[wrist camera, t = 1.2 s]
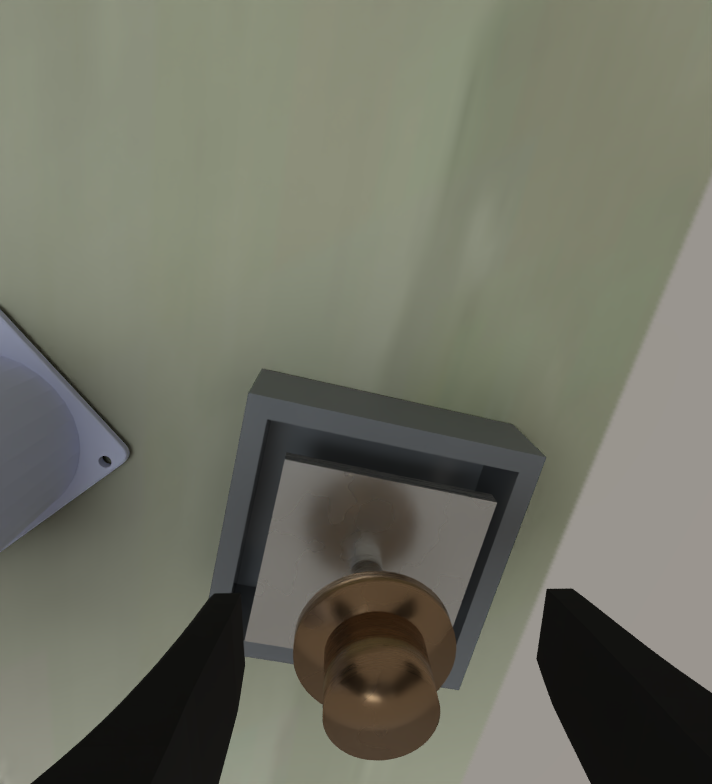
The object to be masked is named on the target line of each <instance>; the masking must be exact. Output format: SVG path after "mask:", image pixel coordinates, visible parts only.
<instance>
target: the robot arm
mask: <svg viewBox="0 0 712 784" xmlns="http://www.w3.org/2000/svg"><path fill="white" fill-rule="evenodd" d="M129 454H130V452H129V448H128V447H127V445H126V444H125V443H124V442H123V441H122V440H121V439H120V438H119V437H118V436H117V434H116V433H115V432H114V431H113V430H112V429H111V428H110V427H109V426H108V425H107V424H106V423H105V422H104V420H103V419H102V418H101V417H100V416H99V415H98V414H97V413H96V412H95V411H94V410H93V409H92V408H91V406H90V405H89V404H88V403H87V402H86V401H85V400H84V399H83V398H82V397H81V396H80V395H79V394H78V392H77V391H76V390H75V389H74V388H73V387H72V386H71V385H70V384H69V383H68V382H67V381H66V380H65V378H64V377H63V376H62V375H61V374H60V373H59V372H58V371H57V370H56V369H55V368H54V367H53V366H52V364H51V363H50V362H49V361H48V360H47V359H46V358H45V357H44V356H43V355H42V354H41V353H40V352H39V350H38V349H37V348H36V347H35V346H34V345H33V344H32V343H31V342H30V341H29V340H28V339H27V338H26V336H25V335H24V334H23V333H22V332H21V331H20V330H19V329H18V328H17V327H16V326H15V325H14V324H13V322H12V321H11V320H10V319H9V318H8V317H7V316H6V315H5V314H4V313H3V312H2V311H1V310H0V552H1V551H3V550H4V549H5V548H7V547H8V546H10V545H11V544H12V543H14V542H15V541H17V540H18V539H19V538H21V537H22V536H23V535H25V534H26V533H28V532H29V531H30V530H32V529H33V528H35V527H36V526H37V525H39V524H40V523H41V522H43V521H44V520H46V519H47V518H48V517H50V516H51V515H53V514H54V513H55V512H57V511H58V510H59V509H61V508H62V507H64V506H65V505H66V504H68V503H69V502H71V501H72V500H73V499H75V498H76V497H77V496H79V495H80V494H82V493H83V492H84V491H86V490H87V489H89V488H90V487H91V486H93V485H94V484H95V483H97V482H98V481H100V480H101V479H102V478H104V477H105V476H107V475H108V474H109V473H111V472H112V471H113V470H115V469H116V468H118V467H119V466H120V465H122V464H123V463H124V462H125V461H126V460H127V459H128V458H129ZM103 456H107V457H109V458H110V459H111V464H109V463H106V462H104V460H103ZM537 661H538V665H539V668H540V671H541V674H542V677H543V680H544V682H545V685H546V688H547V691H548V694H549V696H550V699H551V702H552V704H553V706H554V709H555V711H556V713H557V715H558V717H559V719H560V721H561V723H562V725H563V727H564V729H565V732H566V734H567V736H568V738H569V740H570V742H571V744H572V746H573V748H574V750H575V752H576V754H577V756H578V758H579V760H580V762H581V765H582V766H583V769H584V771H585V773H586V775H587V777H588V779H589V781H590V783H591V784H712V693H711V692H710V691H708V690H706V689H705V688H704V687H702V686H701V685H699V684H698V683H697V682H695V681H694V680H692V679H691V678H689V677H688V676H687V675H685V674H684V673H682V672H681V671H679V670H678V669H677V668H675V667H674V666H673V665H671V664H670V663H668V662H667V661H666V660H664V659H663V658H662V657H660V656H659V655H658V654H656V653H655V652H654V651H652V650H651V649H650V648H648V647H647V646H646V645H644V644H643V643H642V642H640V641H639V640H638V639H636V638H635V637H634V636H633V635H631V634H630V633H629V632H627V631H626V630H625V629H624V628H622V627H621V626H620V625H619V624H617V623H616V622H615V621H614V620H612V619H611V618H610V617H608V616H607V615H606V614H605V613H603V612H602V611H601V610H599V609H598V608H597V607H596V606H594V605H593V604H592V603H590V602H589V601H588V600H587V599H585V598H584V597H583V596H582V595H580V594H579V593H577V592H576V591H575V590H573V589H547V591H546V597H545V604H544V611H543V618H542V625H541V632H540V639H539V645H538V652H537ZM244 668H245V656H244V639H243V621H242V604H241V593H214V594H213V595H212V596H211V597H210V598H209V599H208V601H207V602H206V603H205V605H204V606H203V607H202V609H201V610H200V611H199V612H198V614H197V615H196V616H195V618H194V619H193V620H192V622H191V623H190V624H189V625H188V627H187V628H186V629H185V630H184V632H183V633H182V634H181V635H180V637H179V638H178V639H177V640H176V642H175V643H174V644H173V645H172V646H171V647H170V649H169V650H168V651H167V652H166V653H165V655H164V656H163V657H162V658H161V659H160V661H159V662H158V663H157V664H156V665H155V666H154V667H153V669H152V670H151V671H150V672H149V673H148V674H147V675H146V676H145V677H144V678H143V679H142V681H141V682H140V683H139V684H138V685H137V686H136V687H135V688H134V689H133V690H132V691H131V692H130V693H129V695H128V696H127V697H126V698H125V699H124V700H123V701H122V702H121V703H120V704H119V705H118V706H117V707H116V708H115V709H114V710H113V711H112V712H111V713H110V714H109V715H108V716H107V717H106V718H105V719H104V720H103V721H102V722H101V723H100V724H99V725H97V726H96V727H95V728H94V729H93V730H92V731H91V732H90V733H89V734H88V735H87V736H86V737H85V738H84V739H82V740H81V741H80V742H79V743H78V744H77V745H76V746H75V747H73V748H72V749H71V750H70V751H69V752H68V753H67V754H65V755H64V756H63V757H62V758H61V759H60V760H58V761H57V762H56V763H55V764H54V765H53V766H51V767H50V768H49V769H48V770H47V771H45V772H44V773H43V774H42V775H41V776H39V777H38V778H37V779H36V780H35V781H33V782H32V783H31V784H219V780H220V776H221V773H222V769H223V765H224V761H225V758H226V754H227V750H228V746H229V743H230V739H231V735H232V731H233V727H234V724H235V720H236V716H237V712H238V706H239V700H240V694H241V688H242V681H243V675H244Z"/></svg>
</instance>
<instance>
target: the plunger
mask: <svg viewBox="0 0 712 784" xmlns="http://www.w3.org/2000/svg"><path fill="white" fill-rule="evenodd" d="M496 504H497V502H496V500H495V498H494V497H493V495H492V494H487V493H483V492H478V491H473V490H468V489H463V488H458V487H453V486H448V485H444V484H439V483H434V482H429V481H424V480H419V479H414V478H409V477H404V476H400V475H395V474H390V473H385V472H380V471H375V470H370V469H365V468H361V467H356V466H351V465H346V464H341V463H336V462H331V461H326V460H322V459H317V458H312V457H307V456H302V455H297V454H292V453H287V452H286V456H285V461H284V465H283V470H282V474H281V479H280V483H279V488H278V492H277V497H276V501H275V506H274V510H273V515H272V519H271V524H270V528H269V533H268V537H267V542H266V546H265V551H264V555H263V560H262V564H261V569H260V573H259V578H258V582H257V587H256V591H255V596H254V600H253V605H252V609H251V614H250V618H249V623H248V627H247V632H246V636H245V641H248V642H254V643H260V644H266V645H273V646H279V647H285V648H291V649H293V662H294V668H295V671H296V674H297V676H298V678H299V680H300V682H301V684H302V685H303V687H304V688H305V689H306V691H307V692H308V693H309V694H310V695H311V696H312V697H313V698H314V699H316V700H317V701H318V702H319V703H321V704H323V726H324V729H325V732H326V734H327V736H328V737H329V739H330V740H331V741H332V742H333V743H334V744H335V745H336V746H337V747H338V748H339V749H341V750H342V751H344V752H345V753H347V754H349V755H352V756H354V757H358V758H361V759H366V760H389V759H394V758H398V757H401V756H404V755H406V754H409V753H411V752H413V751H414V750H416V749H418V748H419V747H421V746H422V745H423V744H424V743H425V742H426V741H428V739H429V738H430V737H431V736H432V734H433V733H434V731H435V730H436V727H437V725H438V722H439V719H440V705H439V700H438V696H437V692H436V691H438V690H439V688H440V687H441V686H442V685H443V684H444V682H445V681H446V679H447V678H448V676H449V674H450V672H451V670H452V668H453V665H454V661H455V657H456V638H455V633H454V630H453V625H454V622H455V619H456V617H457V614H458V611H459V608H460V605H461V603H462V600H463V597H464V594H465V591H466V589H467V586H468V583H469V580H470V577H471V575H472V572H473V569H474V566H475V563H476V561H477V558H478V555H479V552H480V549H481V547H482V544H483V541H484V538H485V535H486V532H487V530H488V527H489V524H490V521H491V518H492V516H493V513H494V510H495V507H496Z"/></svg>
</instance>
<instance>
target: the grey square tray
mask: <svg viewBox="0 0 712 784" xmlns="http://www.w3.org/2000/svg"><path fill="white" fill-rule="evenodd" d="M286 452H287V453H292V454H297V455H302V456H307V457H312V458H317V459H322V460H326V461H331V462H336V463H341V464H346V465H351V466H356V467H361V468H365V469H370V470H375V471H380V472H385V473H390V474H395V475H400V476H404V477H409V478H414V479H419V480H424V481H429V482H434V483H439V484H444V485H448V486H453V487H458V488H463V489H468V490H473V491H478V492H483V493H487V494H492V495H493V497H494V498H495V500H496V502H497V504H496V507H495V510H494V513H493V516H492V518H491V521H490V524H489V527H488V530H487V532H486V535H485V538H484V541H483V544H482V547H481V549H480V552H479V555H478V558H477V561H476V563H475V566H474V569H473V572H472V575H471V577H470V580H469V583H468V586H467V589H466V591H465V594H464V597H463V600H462V603H461V605H460V608H459V611H458V614H457V617H456V619H455V622H454V625H453V630H454V633H455V638H456V657H455V661H454V665H453V668H452V670H451V672H450V674H449V676H448V678H447V679H446V681H445V682H444V684H443V685H442V686H441V687H442V688H448V689H455V690H459V689H460V686H461V683H462V681H463V678H464V675H465V673H466V670H467V667H468V665H469V662H470V659H471V657H472V654H473V651H474V649H475V646H476V643H477V641H478V638H479V635H480V633H481V630H482V627H483V625H484V622H485V619H486V617H487V614H488V611H489V609H490V606H491V603H492V601H493V598H494V595H495V593H496V590H497V587H498V585H499V582H500V579H501V577H502V574H503V572H504V569H505V566H506V564H507V561H508V558H509V556H510V553H511V550H512V548H513V545H514V542H515V540H516V537H517V534H518V532H519V529H520V526H521V524H522V521H523V518H524V516H525V513H526V510H527V508H528V505H529V502H530V500H531V497H532V494H533V492H534V489H535V486H536V484H537V481H538V478H539V476H540V473H541V470H542V468H543V465H544V462H545V460H546V456H545V455H544V454H543V453H542V452H541V451H539V450H538V449H537V448H536V447H535V446H534V445H533V444H532V443H531V442H530V441H529V440H528V439H527V438H526V437H525V436H524V435H523V434H522V433H521V432H520V431H519V430H518V429H517V428H516V427H515V426H514V425H513V424H509V423H504V422H500V421H495V420H491V419H486V418H482V417H477V416H473V415H468V414H464V413H459V412H455V411H450V410H446V409H441V408H437V407H432V406H428V405H423V404H419V403H414V402H410V401H405V400H401V399H396V398H392V397H387V396H383V395H378V394H374V393H369V392H365V391H360V390H356V389H351V388H347V387H342V386H338V385H333V384H329V383H324V382H320V381H315V380H311V379H306V378H302V377H297V376H293V375H288V374H284V373H280V372H275V371H271V370H266V369H262V370H261V372H260V373H259V375H258V377H257V379H256V380H255V382H254V384H253V386H252V387H251V389H250V391H249V393H248V398H247V403H246V408H245V413H244V418H243V423H242V429H241V434H240V439H239V444H238V449H237V455H236V460H235V465H234V470H233V475H232V481H231V486H230V491H229V496H228V501H227V506H226V512H225V517H224V522H223V527H222V532H221V538H220V543H219V548H218V553H217V558H216V563H215V569H214V574H213V579H212V584H211V589H210V595H209V598H210V597H211V596H212V595H213V594H214V593H241V604H242V621H243V639H244V656H245V657H252V658H258V659H264V660H271V661H277V662H283V663H290V664H294V662H293V649H291V648H285V647H279V646H273V645H266V644H260V643H254V642H248V641H245V636H246V632H247V627H248V623H249V618H250V614H251V609H252V605H253V600H254V596H255V591H256V587H257V582H258V578H259V573H260V569H261V564H262V560H263V555H264V551H265V546H266V542H267V537H268V533H269V528H270V524H271V519H272V515H273V510H274V506H275V501H276V497H277V492H278V488H279V483H280V479H281V474H282V470H283V465H284V461H285V456H286Z"/></svg>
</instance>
